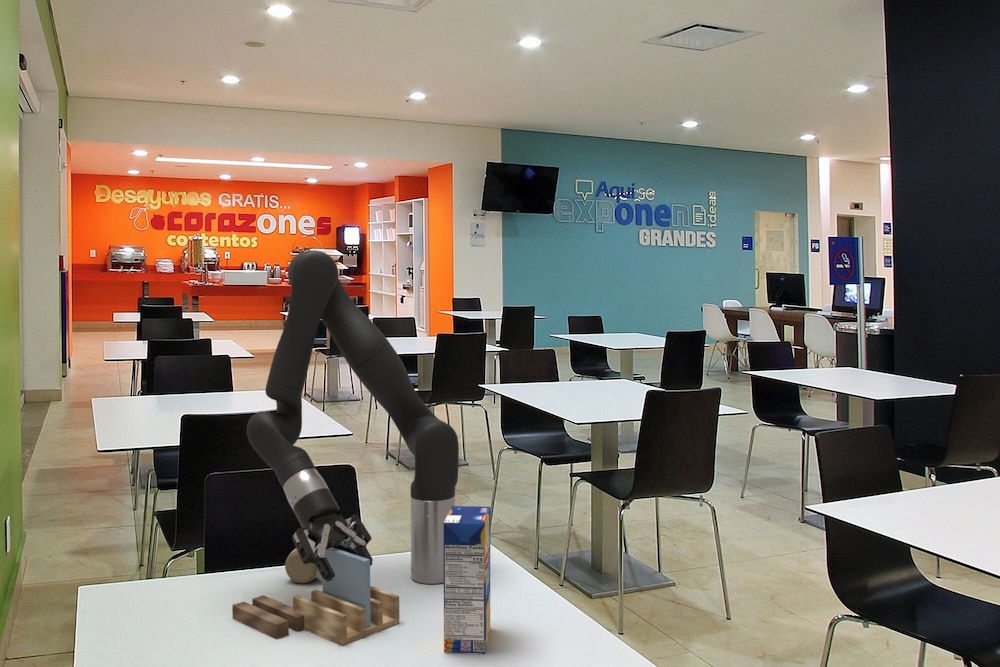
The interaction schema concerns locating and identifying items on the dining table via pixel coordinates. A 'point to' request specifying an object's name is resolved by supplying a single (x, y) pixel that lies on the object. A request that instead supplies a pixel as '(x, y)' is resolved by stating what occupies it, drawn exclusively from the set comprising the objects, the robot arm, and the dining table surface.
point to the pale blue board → (349, 579)
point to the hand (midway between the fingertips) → (350, 572)
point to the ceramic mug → (301, 568)
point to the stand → (268, 616)
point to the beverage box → (466, 579)
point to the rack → (346, 615)
